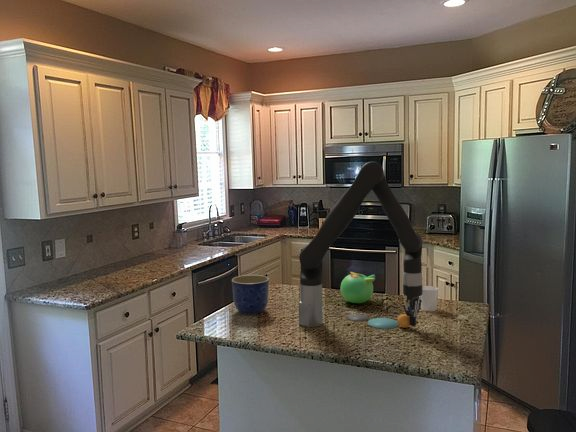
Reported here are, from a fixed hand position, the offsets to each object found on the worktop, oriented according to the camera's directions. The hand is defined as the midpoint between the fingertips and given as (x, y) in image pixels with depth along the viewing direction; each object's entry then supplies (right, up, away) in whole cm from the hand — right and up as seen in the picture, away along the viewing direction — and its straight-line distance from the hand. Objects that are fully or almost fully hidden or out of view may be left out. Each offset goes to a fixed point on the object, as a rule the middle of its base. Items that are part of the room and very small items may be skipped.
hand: (412, 325), depth 188 cm
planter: (-67, 0, +27) cm, 72 cm away
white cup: (+14, +1, +26) cm, 30 cm away
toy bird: (-16, +2, +39) cm, 42 cm away
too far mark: (-20, 0, +15) cm, 25 cm away
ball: (-3, +1, +3) cm, 4 cm away
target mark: (-10, -1, +8) cm, 13 cm away
